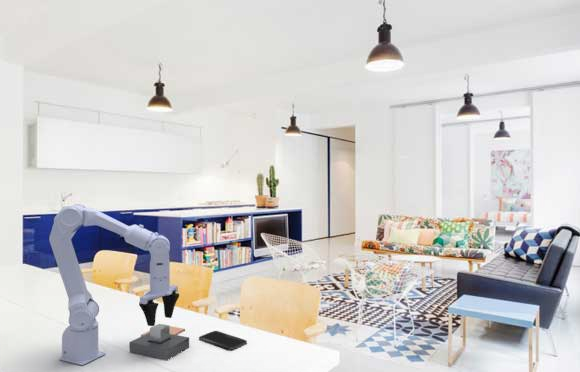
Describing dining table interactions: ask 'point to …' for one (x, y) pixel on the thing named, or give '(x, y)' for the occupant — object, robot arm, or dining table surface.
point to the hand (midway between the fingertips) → (159, 321)
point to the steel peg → (159, 333)
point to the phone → (223, 340)
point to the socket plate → (159, 346)
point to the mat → (172, 331)
